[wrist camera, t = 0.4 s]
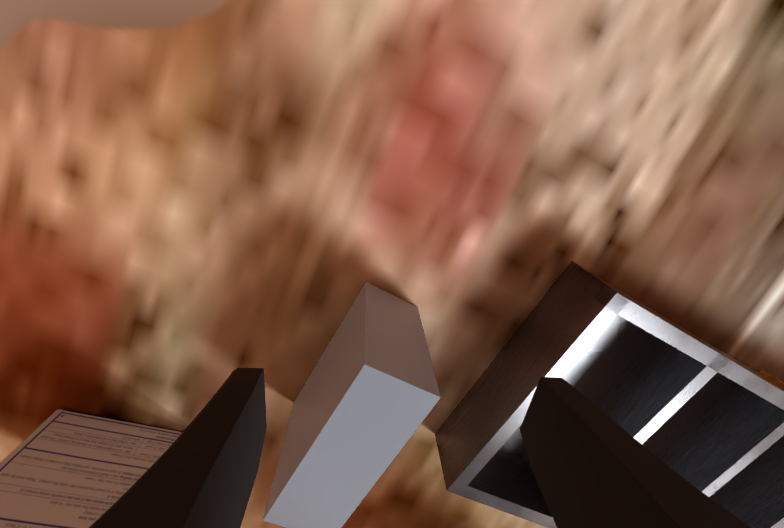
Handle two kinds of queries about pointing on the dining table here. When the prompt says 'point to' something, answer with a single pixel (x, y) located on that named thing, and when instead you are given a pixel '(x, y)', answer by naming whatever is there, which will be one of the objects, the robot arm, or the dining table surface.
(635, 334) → the rack
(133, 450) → the medicine box
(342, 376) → the panel
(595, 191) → the dining table surface
